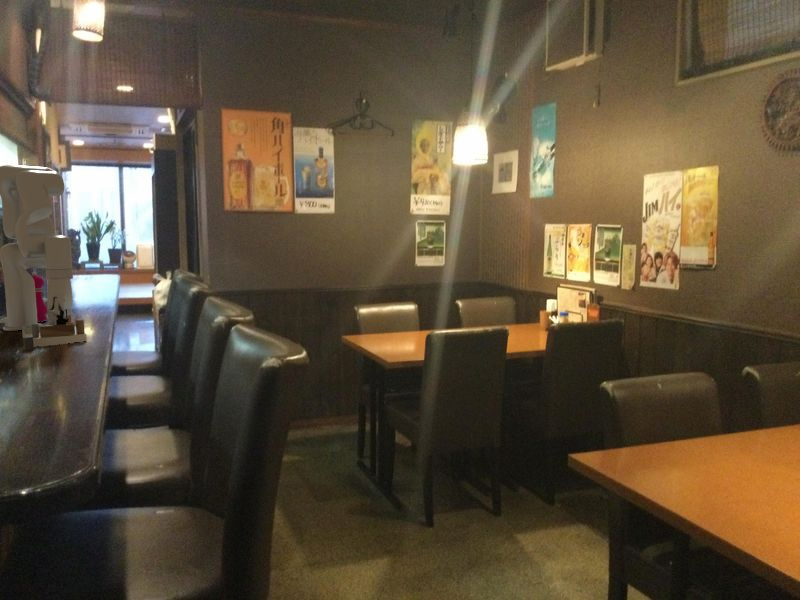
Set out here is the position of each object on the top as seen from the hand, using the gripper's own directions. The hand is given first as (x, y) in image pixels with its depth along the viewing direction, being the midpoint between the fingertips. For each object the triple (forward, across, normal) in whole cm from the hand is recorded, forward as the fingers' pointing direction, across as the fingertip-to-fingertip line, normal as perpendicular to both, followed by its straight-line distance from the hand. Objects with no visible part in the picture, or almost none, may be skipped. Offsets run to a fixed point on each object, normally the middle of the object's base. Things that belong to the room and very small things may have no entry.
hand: (63, 330), depth 207 cm
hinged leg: (+1, +3, -1) cm, 4 cm away
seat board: (+4, -2, -4) cm, 6 cm away
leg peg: (+4, -19, -8) cm, 21 cm away
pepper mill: (+5, -53, -25) cm, 59 cm away
